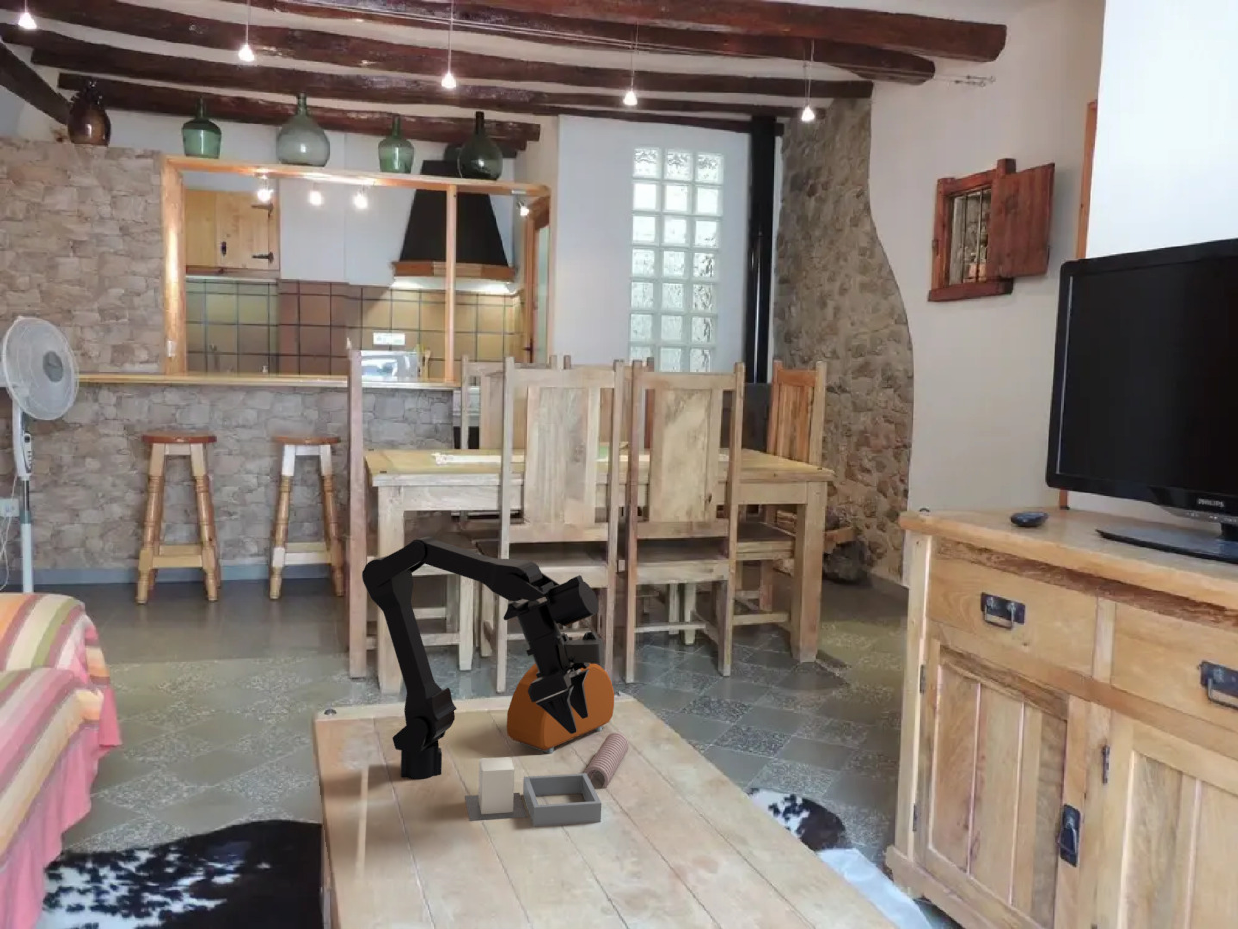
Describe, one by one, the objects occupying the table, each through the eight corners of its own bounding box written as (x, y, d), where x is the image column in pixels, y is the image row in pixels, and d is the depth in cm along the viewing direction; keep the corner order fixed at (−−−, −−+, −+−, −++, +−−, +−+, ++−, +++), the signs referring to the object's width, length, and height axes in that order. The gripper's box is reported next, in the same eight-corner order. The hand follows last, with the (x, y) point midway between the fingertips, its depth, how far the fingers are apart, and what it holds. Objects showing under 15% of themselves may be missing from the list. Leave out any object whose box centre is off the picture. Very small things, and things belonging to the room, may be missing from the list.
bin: (533, 832, 146) (534, 807, 146) (522, 800, 157) (523, 776, 157) (600, 828, 149) (601, 803, 148) (585, 796, 160) (586, 773, 159)
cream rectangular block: (481, 814, 149) (482, 771, 149) (478, 800, 154) (479, 758, 153) (512, 812, 150) (514, 769, 150) (508, 798, 155) (510, 757, 155)
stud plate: (469, 827, 147) (470, 796, 146) (464, 802, 156) (465, 773, 155) (527, 823, 149) (528, 793, 149) (519, 798, 158) (520, 770, 157)
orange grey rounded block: (580, 716, 198) (583, 638, 197) (614, 726, 193) (618, 646, 192) (503, 748, 179) (506, 661, 178) (540, 760, 174) (543, 671, 173)
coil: (610, 771, 160) (631, 734, 178) (583, 764, 161) (607, 728, 179) (606, 797, 161) (627, 757, 178) (579, 790, 162) (604, 752, 179)
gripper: (575, 626, 144) (615, 722, 143) (598, 608, 163) (633, 693, 162) (510, 653, 146) (549, 748, 145) (540, 632, 164) (574, 717, 163)
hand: (579, 725), depth 154 cm, fingers open, 9 cm apart
